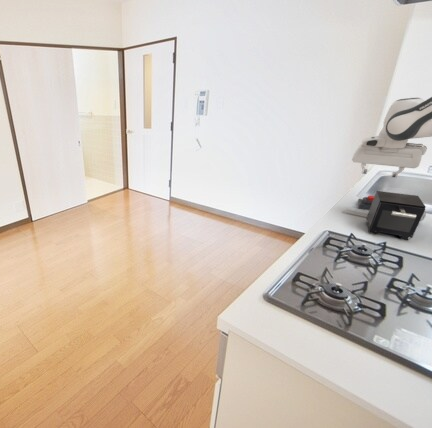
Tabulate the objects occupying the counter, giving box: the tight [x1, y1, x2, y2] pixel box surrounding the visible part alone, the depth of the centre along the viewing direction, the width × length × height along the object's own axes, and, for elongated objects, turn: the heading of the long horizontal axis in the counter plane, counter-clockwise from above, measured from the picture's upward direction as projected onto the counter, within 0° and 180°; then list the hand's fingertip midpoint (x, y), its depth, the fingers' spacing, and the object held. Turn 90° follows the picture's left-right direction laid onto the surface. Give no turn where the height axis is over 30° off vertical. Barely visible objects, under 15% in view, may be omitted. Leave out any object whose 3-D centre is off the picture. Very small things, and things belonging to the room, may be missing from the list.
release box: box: [356, 196, 373, 211], centre depth 130 cm, size 8×8×4 cm
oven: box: [365, 190, 427, 241], centre depth 108 cm, size 12×12×14 cm
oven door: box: [370, 202, 426, 239], centre depth 101 cm, size 7×12×12 cm, turn 54°
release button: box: [367, 195, 375, 201], centre depth 129 cm, size 3×3×2 cm
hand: (378, 175), depth 116 cm, fingers open, 8 cm apart
